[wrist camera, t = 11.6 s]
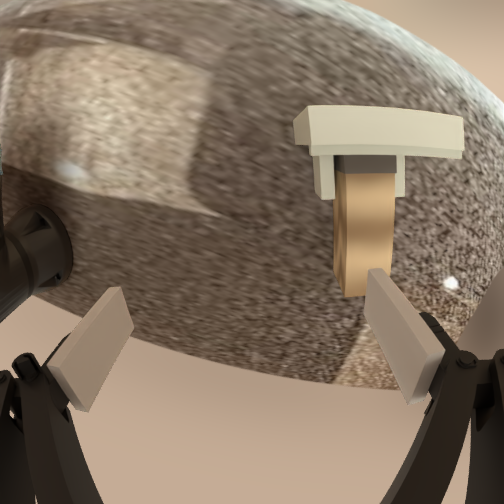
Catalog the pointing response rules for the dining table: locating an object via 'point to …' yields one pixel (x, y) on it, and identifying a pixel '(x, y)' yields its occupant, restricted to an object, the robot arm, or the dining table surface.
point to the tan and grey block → (362, 218)
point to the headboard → (374, 138)
